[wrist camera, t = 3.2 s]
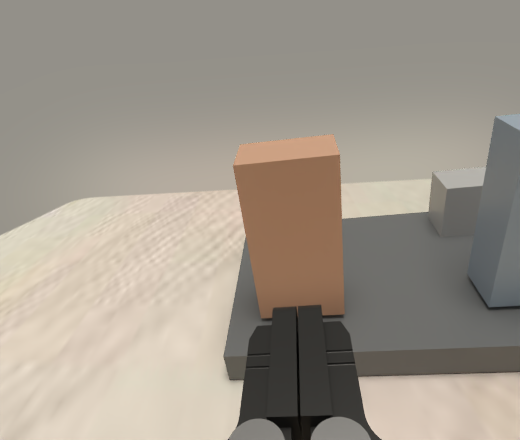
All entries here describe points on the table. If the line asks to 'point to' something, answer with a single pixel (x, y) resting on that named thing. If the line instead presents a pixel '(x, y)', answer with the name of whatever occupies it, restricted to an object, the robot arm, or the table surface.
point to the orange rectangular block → (293, 222)
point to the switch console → (406, 292)
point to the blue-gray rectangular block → (499, 219)
